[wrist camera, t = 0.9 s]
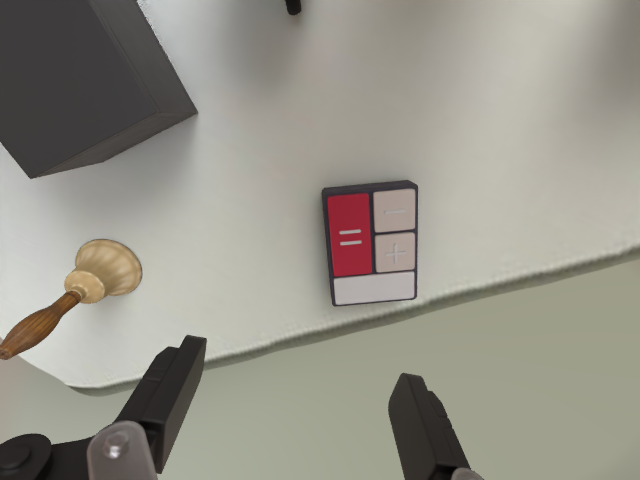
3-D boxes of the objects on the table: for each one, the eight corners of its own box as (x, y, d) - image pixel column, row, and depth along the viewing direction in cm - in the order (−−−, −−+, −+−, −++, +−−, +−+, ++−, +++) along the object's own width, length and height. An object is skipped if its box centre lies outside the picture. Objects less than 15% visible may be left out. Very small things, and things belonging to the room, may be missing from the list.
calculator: (420, 184, 35) (419, 302, 40) (409, 178, 39) (409, 286, 44) (322, 193, 35) (332, 310, 40) (321, 187, 39) (330, 294, 44)
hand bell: (146, 250, 41) (53, 328, 26) (137, 301, 44) (48, 397, 29) (79, 230, 40) (-59, 300, 25) (74, 284, 42) (-52, 376, 28)
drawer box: (10, 32, 32) (-117, -2, 22) (117, -33, 30) (28, -100, 20) (102, 162, 37) (29, 179, 27) (198, 112, 35) (156, 112, 25)
